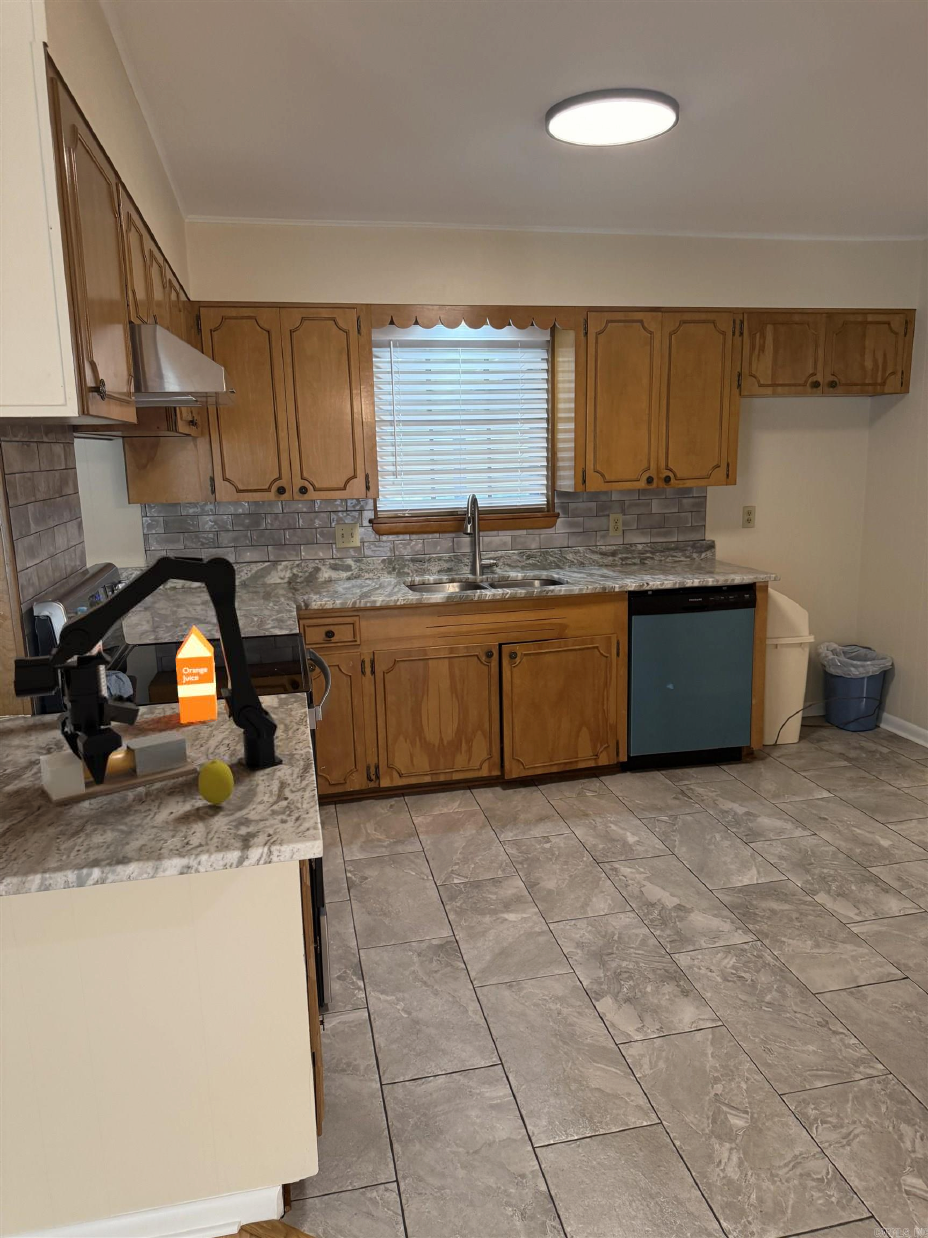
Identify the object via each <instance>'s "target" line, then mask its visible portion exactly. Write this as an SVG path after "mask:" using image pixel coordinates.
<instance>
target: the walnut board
mask: <svg viewBox="0 0 928 1238" xmlns="http://www.w3.org/2000/svg"><path fill="white" fill-rule="evenodd" d="M195 773H198V768H197V767H196V766H195V765H194V764H192V763H191V762H190V761H189V760H187V766H185V767H180V768H176V769H172V770H168V771H164V772H159V773H155V774H151V775H147V776H142V777H138V778H137V777H136V776H135V775H134V774H133V773H132V772H131V771H130V770H126V771H122V772H117V773H113V774H108V775H105V777H104V782H103V784H99V785H97V784H96V783H95V781H94V779H93V778H91V779H87V780H84V782H85V792H86V793H81V794H77V795H73V796H69V797H65V798H61V799H56V800H53V799H52V797H51V796H50V795H49V793H48V792H47V791H46V789H45V788H44V787H43V783H42V784H41V789H42V790H43V791H44V793H45V795H46V796H47V797H48V798H49V800H50V802H52V803H53V805H54V806H55V807H59V806H63V805H67V804H73V803H76V802H79V801H84V800H88V799H93V798H95V797H100V796H104V795H110V794H113V793H117V792H122V791H125V790H128V789H132V788H133V789H134V788H137V787H138V788H139V787H142V786H146V785H150V784H153V783H159V782H163V781H166V780H170V779H175V778H178V777H182V776H187V775H190V774H191V775H192V774H195Z"/></svg>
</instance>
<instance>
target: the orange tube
mask: <svg viewBox="0 0 928 1238" xmlns="http://www.w3.org/2000/svg"><path fill="white" fill-rule="evenodd" d="M81 762H82V763H83V773H84V780H87V779H91V778H92V776H91V774H90V772H89V770H88V768H87V767H86V765H85V763H84V761H83V759H81ZM135 768H136V767H135V756H134V750H133V749H128V750H126V749H125V750H119V751H113V752H112V753H111V754H110V756H109V759H108V763H107V767H106V772H105V775H108V774H113V773H117V772H122V771H126V770H130V769H135Z"/></svg>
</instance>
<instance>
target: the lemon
mask: <svg viewBox="0 0 928 1238" xmlns="http://www.w3.org/2000/svg"><path fill="white" fill-rule="evenodd" d="M234 781H235V780H234V777H233V773H232V771H231V769H230V766H229V765H227V763H224V762H222V761H220V760H217V759H212V760H211V761H210V762H208V763H206V764H205V765H204V766H203V767H202V768H201V770H200V772H199V776H198V784H197V785H198V791H199V794H200V796H201V798H202V799H203V800H204V801H206V802H207V803H210V804H213V805H214V806H216V807H219V806H220V805H221V804H222V803H223V802H225V801H227V800H228V799H229V798H231V797H230V796H231V795H232V793H233V789H234V785H235V784H234ZM218 805H219V806H218Z"/></svg>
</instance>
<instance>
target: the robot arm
mask: <svg viewBox="0 0 928 1238" xmlns="http://www.w3.org/2000/svg"><path fill="white" fill-rule="evenodd" d="M236 574H237V573H236V567H235V566H234V564H233V563H232V562H231V561H230V560H229V559H228V558H227V557H225V556H224V555H222V554H218V553H211V554H208V555H205V556H204V557H197V556H175V555H170V554H165V553H164V554H161V555H159V556H157V557H156V558H155V560H154V561H153V562H152V563H151V564H150V565H148V566H147V567H146V568H145V569H143V570H142V571H141V572H139V573H138V574H137V575H135V576H134V577H133V578H132V579H130V580H129V581H127V583H125V584H124V585H122V586H121V587H120V588H119V589H117V591H115V592H114V593H113V594H111V595H110V596H109V597H107V598H106V599H105V600H104V601H102V602H100V603H99V604H97V605H94V606H93V607H90V608H87V610H86V611H84V612H82V613H80V614H78V613H77V615H75V616H73V617H71V618H69V619H68V620H66V621H65V622H64V624H63V625H62V627H61V630H60V632H59V635H58V643H57V645H56V647H53V648H52V650H51V653H50V655H40V656H31V657H30V656H17V657H15V659H14V660H13V663H14V664H13V665H14V679H13V688H14V689H13V690H14V694H15V698H16V699H23V698H35V697H42V696H43V697H44V696H52V695H53V696H54V695H55V692H57V689H61V688H62V678H61V670H63V677H64V678H63V679H64V687H65V688H64V689H65V696H63V703H64V704H65V705H66V707H67V711H65V712H64V711H63V712H60V714H59V715H58V716H57V717H56V726H57V729H58V731H60V735H61V736H62V737H63V738H62V739H64V741H65V742H66V744H67V746H68V748H69V749H70V750H71V751H72V752H73V753H74V754H75V755H76V756H77V757H78V758H79V759H80V760H81V759H83V761H84V763H85V765H86V767H87V768H88V770H89V772H90V774H91V776H92V778H93V779H94V781H95V783H96V784H97V785H99V784H103V782H104V777H105V772H106V767H107V763H108V759H109V756H110V754H111V753H114V752H116V751H117V750H119V749H120V748H122V747H123V737H122V735H121V734H120V733H119V732H118V731H117V730H115V729H113V728H112V727H110V726H112V722H113V723H119V724H126V725H128V726H131V727H134V726H136V724H137V721H138V717H139V714H140V710H141V708H140V707H139V706H137V705H136V704H135V703H131V702H130V701H126V700H127V699H126V696H125V695H123V694H120V693H119V694H118V693H113V695H111V697H110V698H109V697H108V698H107V697H106V696H105V695H103V692H102V682H101V672H100V665H105V666H107V665H110V664H111V663H112V657H111V656H110V655H108V654H106V653H105V652H103V651H104V650H103V649H102V650H103V651H102V650H101V649H99V650H98V651H97V652H96V653H95V654H93V655H86V654H87V653H89V652H91V651H92V650H93V648H94V647H95V646H96V645H97V644H98V643H99V642H100V641H102V640H103V638H104V637H105V636H106V635H107V633H109V631H110V630H111V629H112V627H113V626H114V625H115V624H116V623H117V621H119V620H120V619H122V618H123V617H124V616H125V615H126V614H128V613H130V611H131V610H132V609H134V608H135V607H137V606H138V605H139V604H141V603H142V602H143V601H145V599H147V598H148V597H149V596H150V595H152V594H153V593H154V592H155V591H156V590H158V589H159V588H161V587H162V586H163V585H164V584H165V583H167V582H168V581H170V580H177V581H184V582H185V581H186V582H189V583H190V582H191V583H197V584H198V583H200V584H203V586H204V589H205V590H206V594H207V596H208V598H209V600H210V602H211V606H212V607H213V612H214V616H215V621H216V626H217V629H218V636H219V639H220V644H221V645H220V646H221V649H222V654H223V658H224V659H223V660H224V662H225V668H226V672H227V673H226V674H227V678H228V680H227V683H228V685H227V688H221V689H220V691H221V694H222V696H223V698H224V711H225V713H226V716H227V717H228V719H232V722H233V724H234V725H235V726H236V727H237V728H239V729H241V730H243V731H242V738H243V739H242V740H243V754H244V756H243V757H240V758H239V757H238V759H237V762H238V763H239V764H241V765H243V766H244V767H245V768H247V769H249V771H256V770H260V769H263V768H268V767H272V766H275V765H279V764H283V763H282V762H284V760H283V759H282V758H280V757H278V756H277V755H276V740H275V735H276V732H277V729H278V725H277V723H276V721H275V720H274V718H273V716H272V714H271V713H270V712H269V710H267V709H266V708H264V707H263V705H262V703H261V700H260V697H259V694H258V692H257V690H256V688H255V685H254V684H253V683H254V682H253V681H252V678H251V675H250V671H249V666H248V661H247V656H246V651H245V646H244V642H243V641H244V640H243V637H242V632H241V628H240V627H241V626H240V623H239V622H240V621H239V617H238V613H237V607H236V594H237V578H236V576H237V575H236ZM74 656H77V660H74V661H70V659H71V658H72V657H74Z"/></svg>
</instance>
